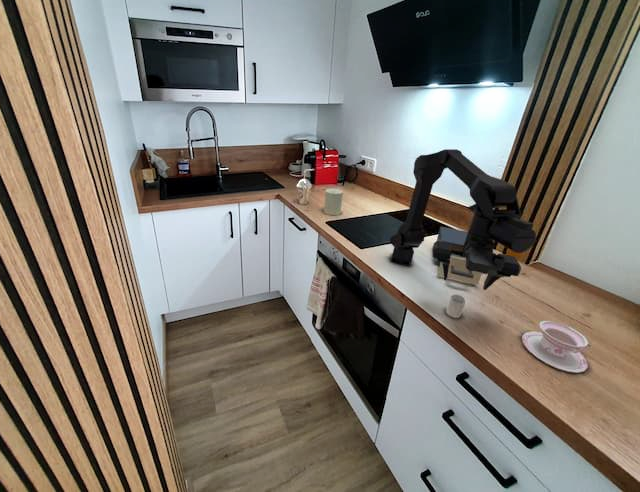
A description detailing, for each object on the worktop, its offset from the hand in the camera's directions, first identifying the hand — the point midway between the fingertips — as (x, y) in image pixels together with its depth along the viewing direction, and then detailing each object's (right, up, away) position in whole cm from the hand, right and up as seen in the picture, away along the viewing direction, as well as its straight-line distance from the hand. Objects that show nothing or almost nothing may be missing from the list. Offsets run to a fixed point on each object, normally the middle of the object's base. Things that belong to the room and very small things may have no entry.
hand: (464, 284), depth 77 cm
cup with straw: (-37, +28, +85) cm, 96 cm away
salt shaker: (-1, -9, +4) cm, 10 cm away
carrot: (+34, 0, +27) cm, 43 cm away
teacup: (+16, -15, -8) cm, 23 cm away
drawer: (+11, -1, +21) cm, 23 cm away
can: (-22, +22, +73) cm, 80 cm away
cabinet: (+16, +3, +31) cm, 35 cm away
